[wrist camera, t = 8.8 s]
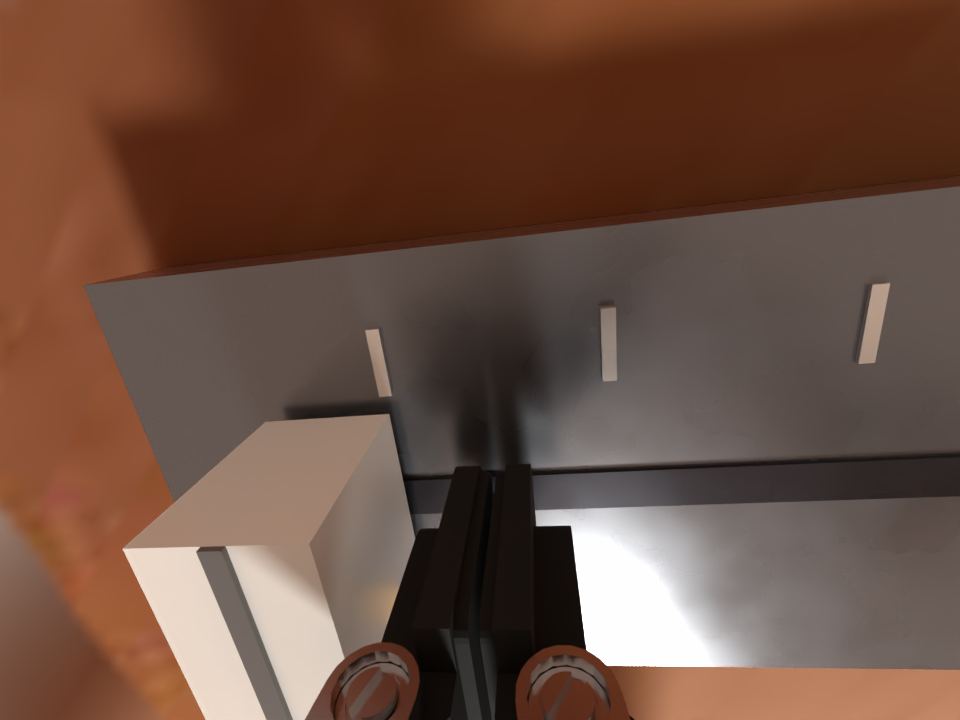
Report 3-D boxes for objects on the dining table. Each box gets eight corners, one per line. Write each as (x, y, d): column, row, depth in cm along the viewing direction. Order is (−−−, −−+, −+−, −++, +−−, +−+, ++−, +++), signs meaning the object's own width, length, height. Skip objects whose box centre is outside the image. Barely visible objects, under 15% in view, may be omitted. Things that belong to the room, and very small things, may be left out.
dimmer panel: (1384, 126, 9) (1701, 102, 7) (1151, 587, 13) (1293, 677, 11) (166, 267, 13) (79, 285, 10) (281, 595, 17) (239, 664, 14)
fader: (389, 413, 10) (305, 550, 6) (424, 584, 12) (375, 772, 8) (265, 421, 11) (117, 553, 7) (316, 585, 12) (221, 765, 8)
